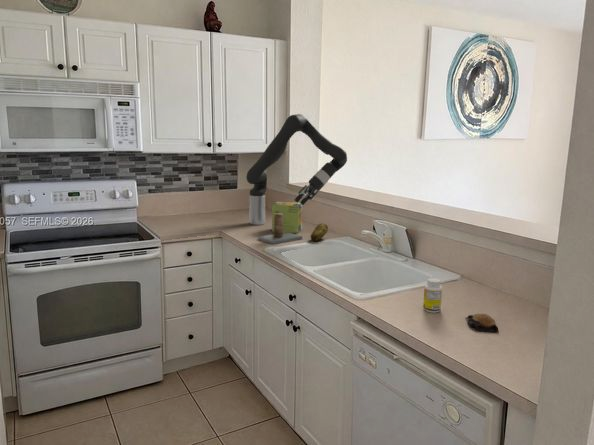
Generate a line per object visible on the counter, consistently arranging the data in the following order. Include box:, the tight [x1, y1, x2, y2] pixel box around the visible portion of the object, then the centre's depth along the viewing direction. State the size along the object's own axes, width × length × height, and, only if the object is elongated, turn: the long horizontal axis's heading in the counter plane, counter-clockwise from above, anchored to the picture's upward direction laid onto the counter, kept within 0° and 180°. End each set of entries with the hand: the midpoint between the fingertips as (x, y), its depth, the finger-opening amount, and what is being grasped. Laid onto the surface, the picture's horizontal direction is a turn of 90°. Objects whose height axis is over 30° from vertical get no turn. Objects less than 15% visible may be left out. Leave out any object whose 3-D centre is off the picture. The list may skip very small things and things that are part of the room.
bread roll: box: [465, 313, 500, 334], centre depth 145 cm, size 11×9×4 cm
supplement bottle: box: [423, 277, 443, 314], centre depth 155 cm, size 6×6×10 cm
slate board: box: [257, 232, 303, 245], centre depth 251 cm, size 13×19×2 cm
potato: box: [310, 223, 329, 242], centre depth 250 cm, size 8×13×8 cm, turn 133°
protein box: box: [271, 201, 303, 234], centre depth 271 cm, size 10×15×16 cm
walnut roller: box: [273, 213, 283, 238], centre depth 248 cm, size 5×5×12 cm
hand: (298, 202), depth 250 cm, fingers open, 8 cm apart
